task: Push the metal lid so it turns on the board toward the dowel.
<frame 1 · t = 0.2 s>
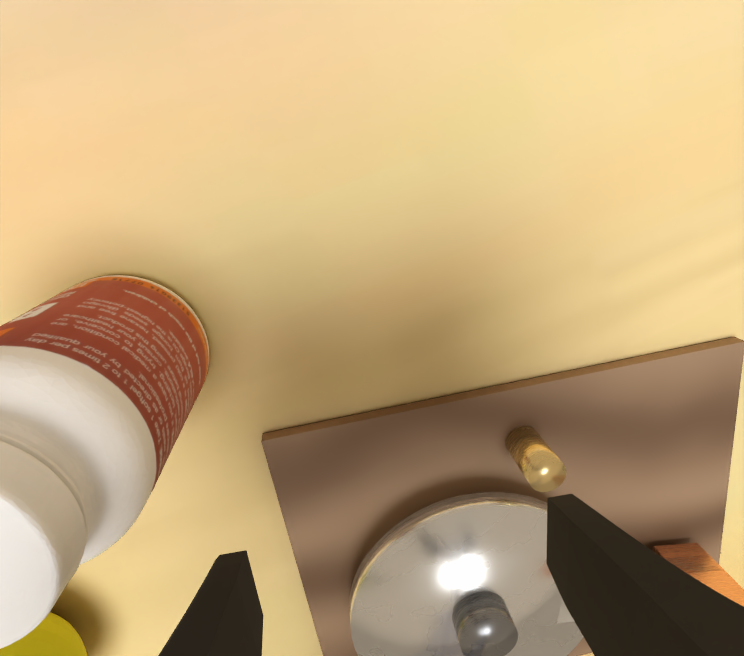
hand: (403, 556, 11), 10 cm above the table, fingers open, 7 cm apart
metal lid: (549, 619, 22), point 4 cm above the table, hinge at 0.0°
board: (516, 537, 25), on the table
ornament: (38, 623, 23), on the table
pill bottle: (134, 345, 19), on the table
dowel: (516, 433, 23), resting on board
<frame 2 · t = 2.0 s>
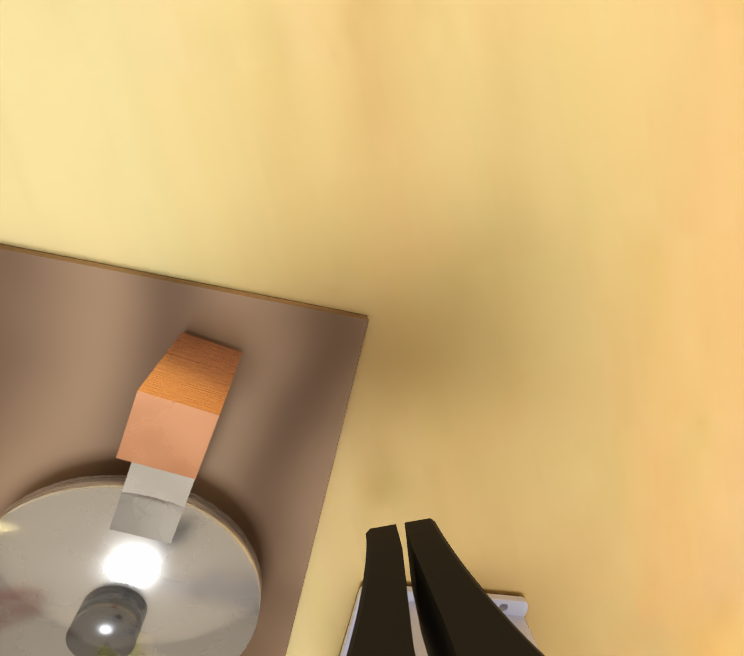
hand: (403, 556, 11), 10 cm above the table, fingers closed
metal lid: (128, 567, 19), point 4 cm above the table, hinge at 0.0°
board: (120, 503, 22), on the table
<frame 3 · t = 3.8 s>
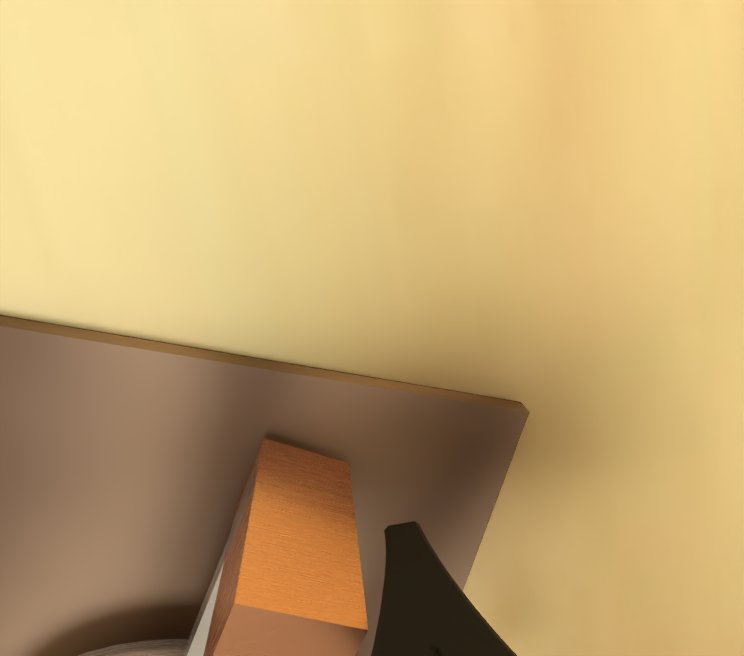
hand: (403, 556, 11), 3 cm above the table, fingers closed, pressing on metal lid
board: (167, 652, 16), on the table
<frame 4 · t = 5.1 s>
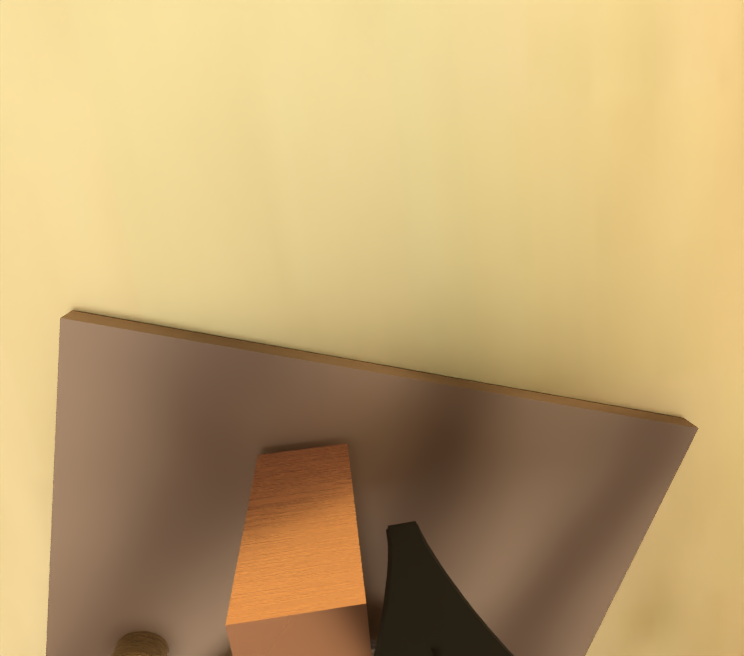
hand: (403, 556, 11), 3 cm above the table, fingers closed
board: (334, 652, 17), on the table
dowel: (148, 632, 16), resting on board
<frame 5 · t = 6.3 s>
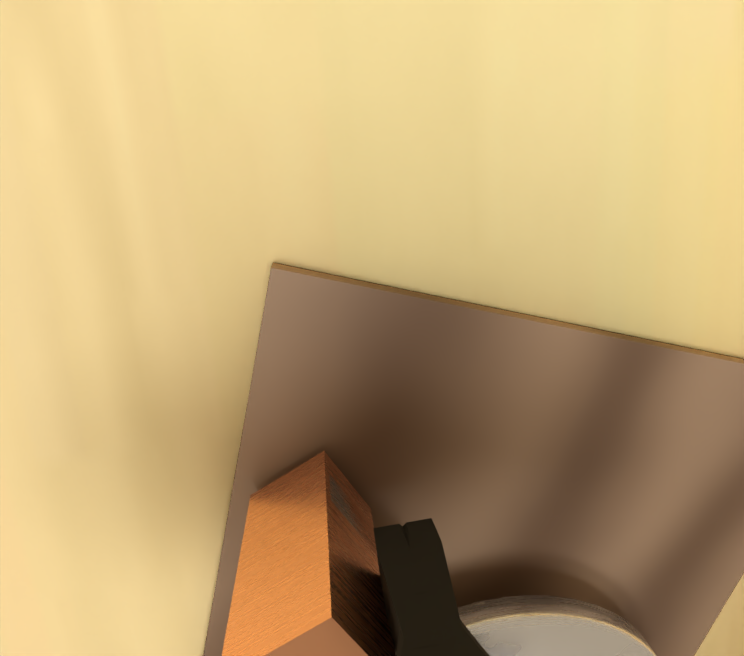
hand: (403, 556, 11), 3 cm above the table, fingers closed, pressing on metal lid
board: (475, 614, 17), on the table
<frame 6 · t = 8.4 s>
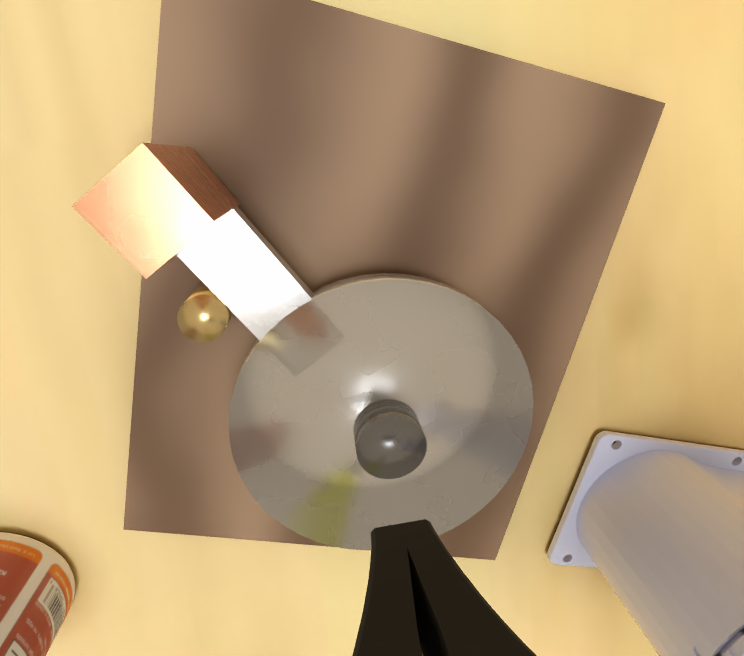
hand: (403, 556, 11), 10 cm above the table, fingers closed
metal lid: (337, 382, 17), point 4 cm above the table, hinge at 60.3°
board: (369, 329, 20), on the table
pill bottle: (11, 575, 23), on the table
dowel: (219, 294, 19), resting on board
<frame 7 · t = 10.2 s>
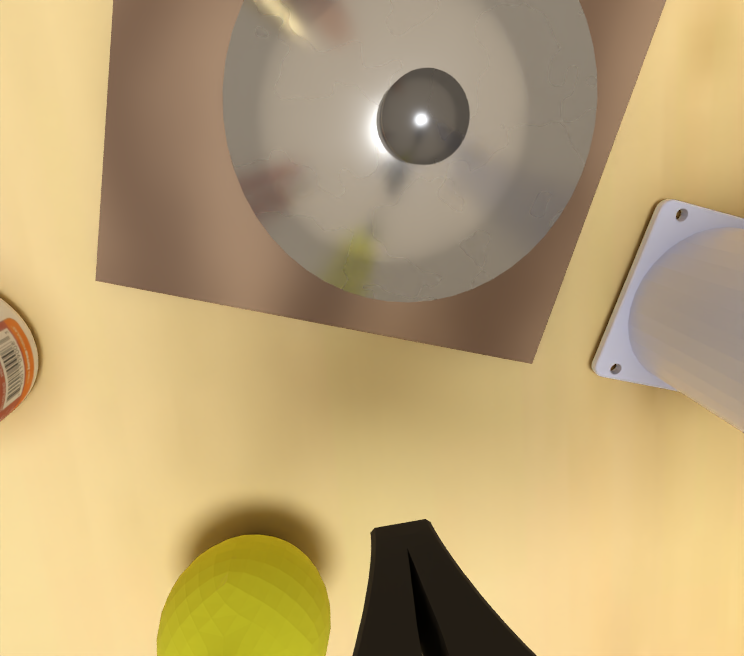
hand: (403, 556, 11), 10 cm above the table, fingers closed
metal lid: (359, 23, 14), point 4 cm above the table, hinge at 60.3°
board: (396, 29, 17), on the table
ornament: (257, 556, 24), on the table
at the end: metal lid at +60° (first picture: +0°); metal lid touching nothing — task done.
